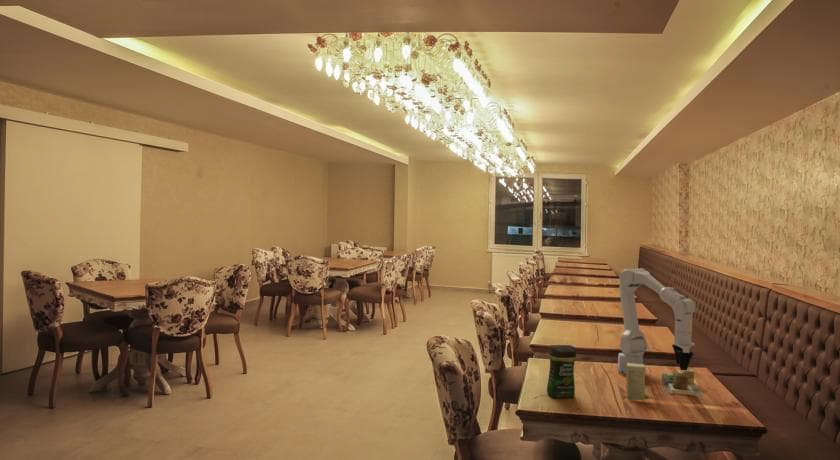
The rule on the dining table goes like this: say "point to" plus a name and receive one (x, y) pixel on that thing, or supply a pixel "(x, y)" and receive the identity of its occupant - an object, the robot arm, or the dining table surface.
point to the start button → (669, 375)
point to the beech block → (689, 375)
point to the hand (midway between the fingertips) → (681, 366)
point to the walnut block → (680, 381)
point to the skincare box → (635, 381)
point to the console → (667, 379)
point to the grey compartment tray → (690, 389)
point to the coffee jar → (561, 371)
